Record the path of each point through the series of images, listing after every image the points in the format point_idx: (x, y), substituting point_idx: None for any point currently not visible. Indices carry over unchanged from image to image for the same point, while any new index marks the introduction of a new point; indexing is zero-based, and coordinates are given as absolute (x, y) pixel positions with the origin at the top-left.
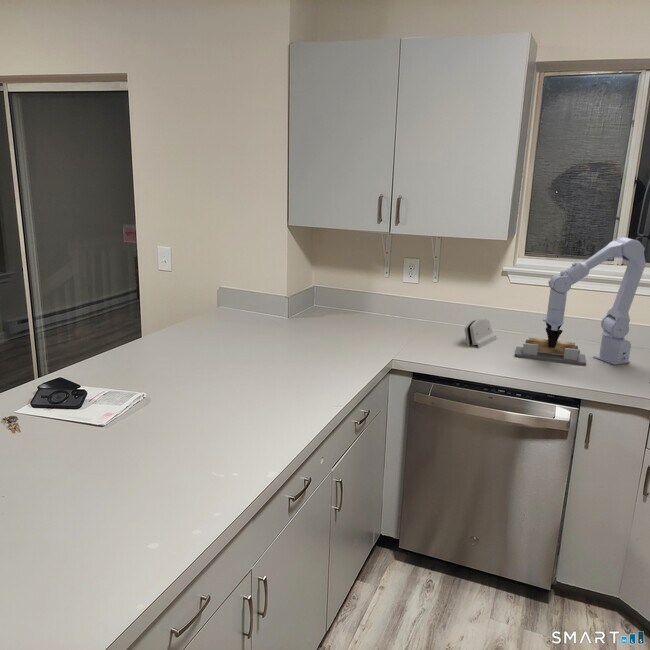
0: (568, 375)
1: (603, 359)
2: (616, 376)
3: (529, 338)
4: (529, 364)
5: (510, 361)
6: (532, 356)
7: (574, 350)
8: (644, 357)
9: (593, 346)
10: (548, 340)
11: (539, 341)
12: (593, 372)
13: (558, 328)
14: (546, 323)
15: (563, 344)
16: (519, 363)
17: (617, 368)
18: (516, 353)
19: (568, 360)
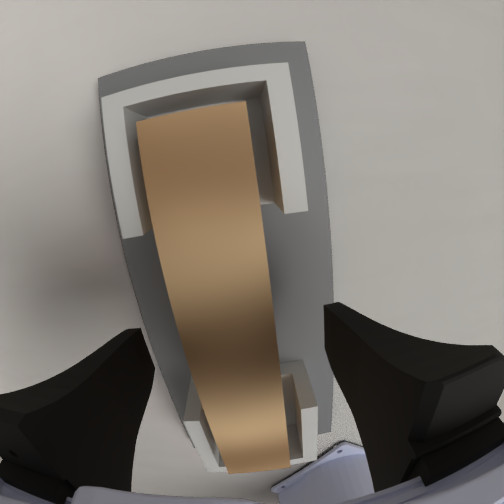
0: (27, 376)
1: (306, 471)
2: (147, 485)
3: (204, 118)
4: (23, 205)
5: (19, 101)
6: (112, 194)
7: (200, 452)
8: None
9: None
10: (87, 360)
11: (159, 247)
12: None
13: (371, 461)
14: (430, 391)
15: (211, 427)
16: (12, 153)
17: (238, 492)
18: (113, 79)
19: (175, 394)
